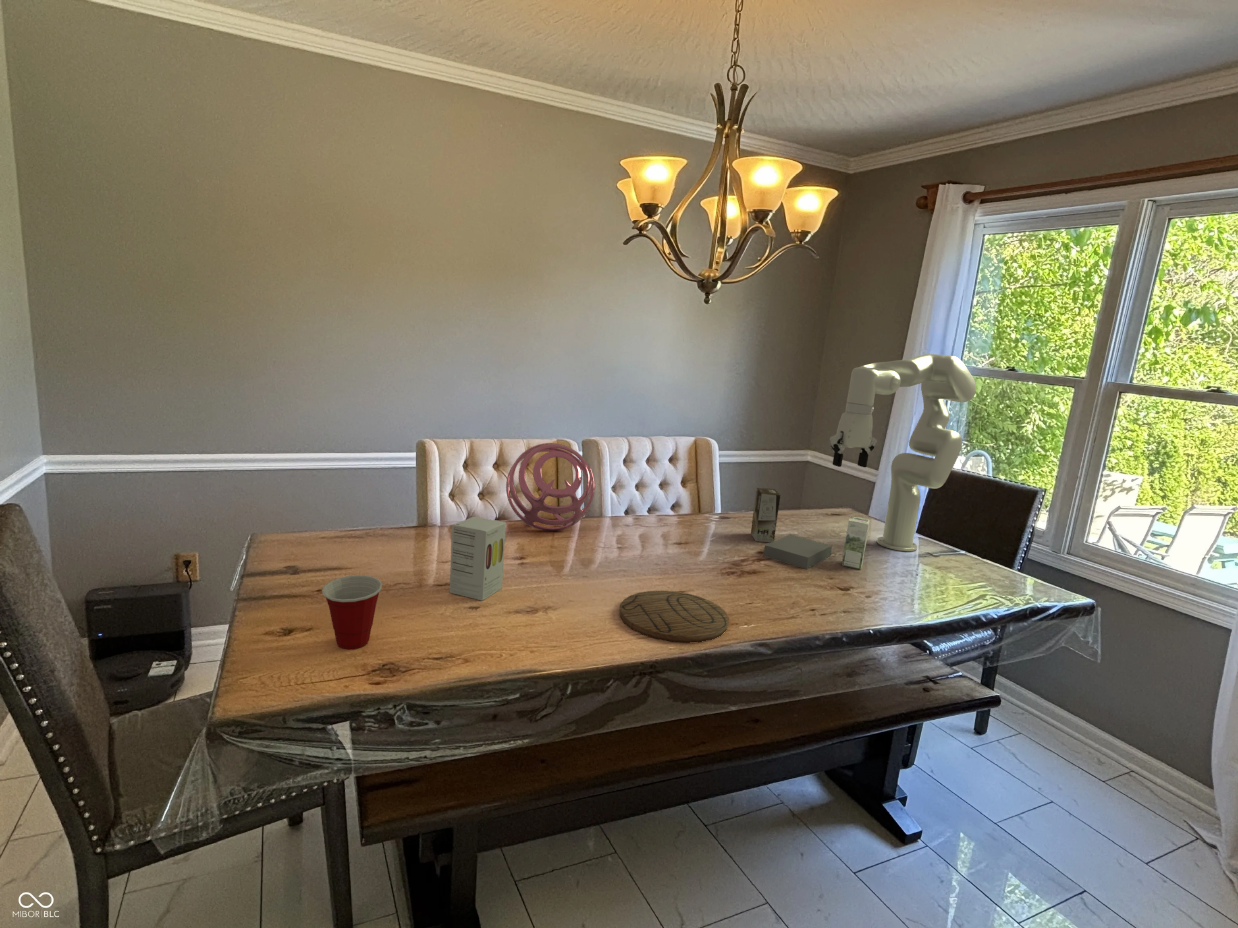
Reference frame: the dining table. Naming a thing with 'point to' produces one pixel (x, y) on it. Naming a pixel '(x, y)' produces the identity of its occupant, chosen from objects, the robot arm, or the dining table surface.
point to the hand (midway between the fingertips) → (849, 466)
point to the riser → (797, 551)
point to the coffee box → (765, 514)
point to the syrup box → (855, 542)
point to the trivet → (673, 616)
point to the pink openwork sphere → (547, 489)
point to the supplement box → (477, 557)
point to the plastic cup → (352, 608)
